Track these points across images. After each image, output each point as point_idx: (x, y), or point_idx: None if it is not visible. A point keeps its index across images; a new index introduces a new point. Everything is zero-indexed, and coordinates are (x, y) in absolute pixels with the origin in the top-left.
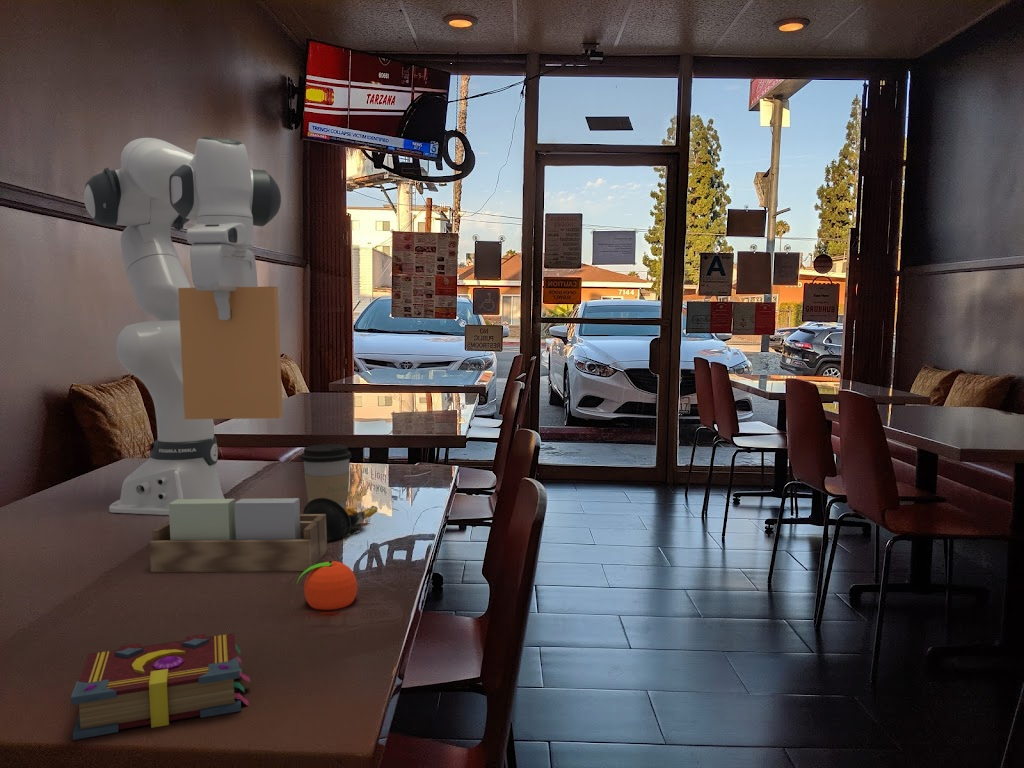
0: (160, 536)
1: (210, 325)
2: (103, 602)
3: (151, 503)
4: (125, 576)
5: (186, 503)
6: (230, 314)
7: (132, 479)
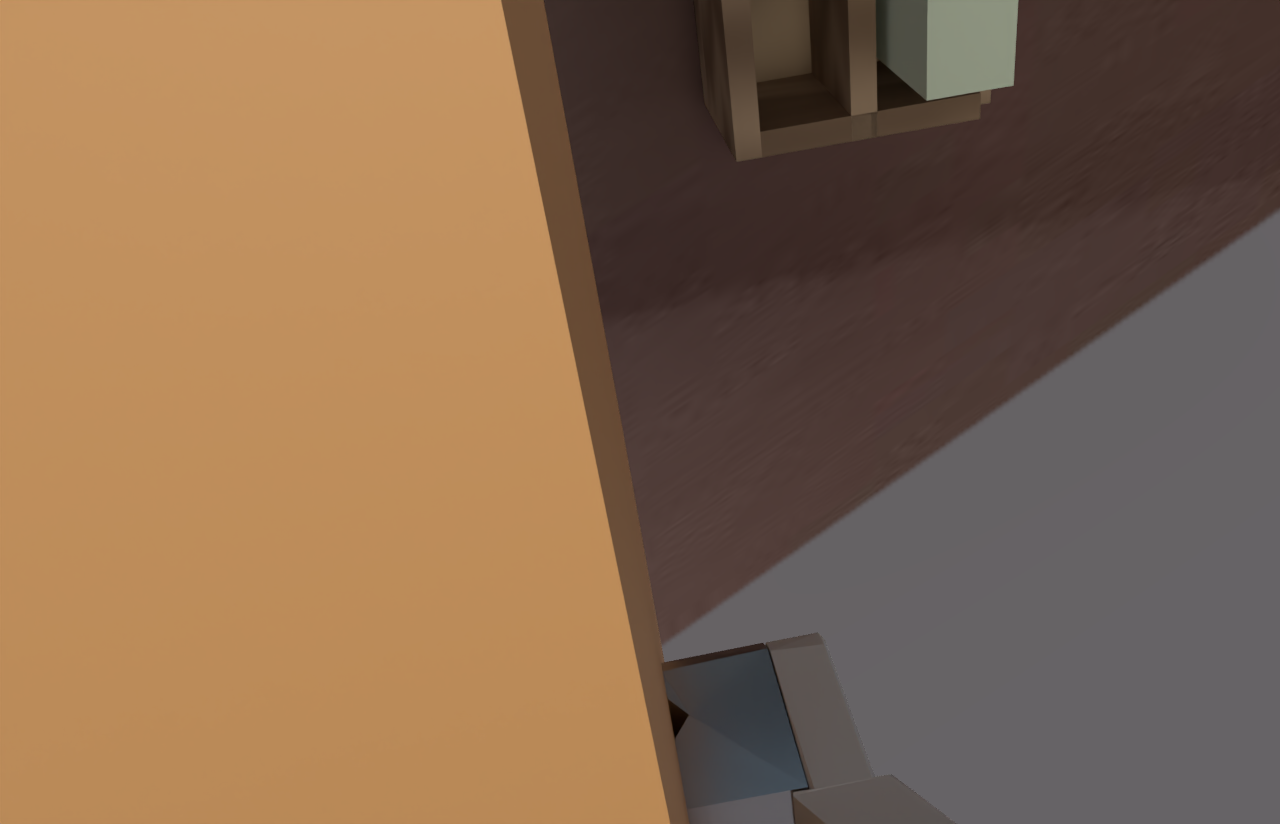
0: None
1: None
2: (1123, 88)
3: None
4: (882, 183)
5: (1015, 3)
6: (768, 698)
7: None
